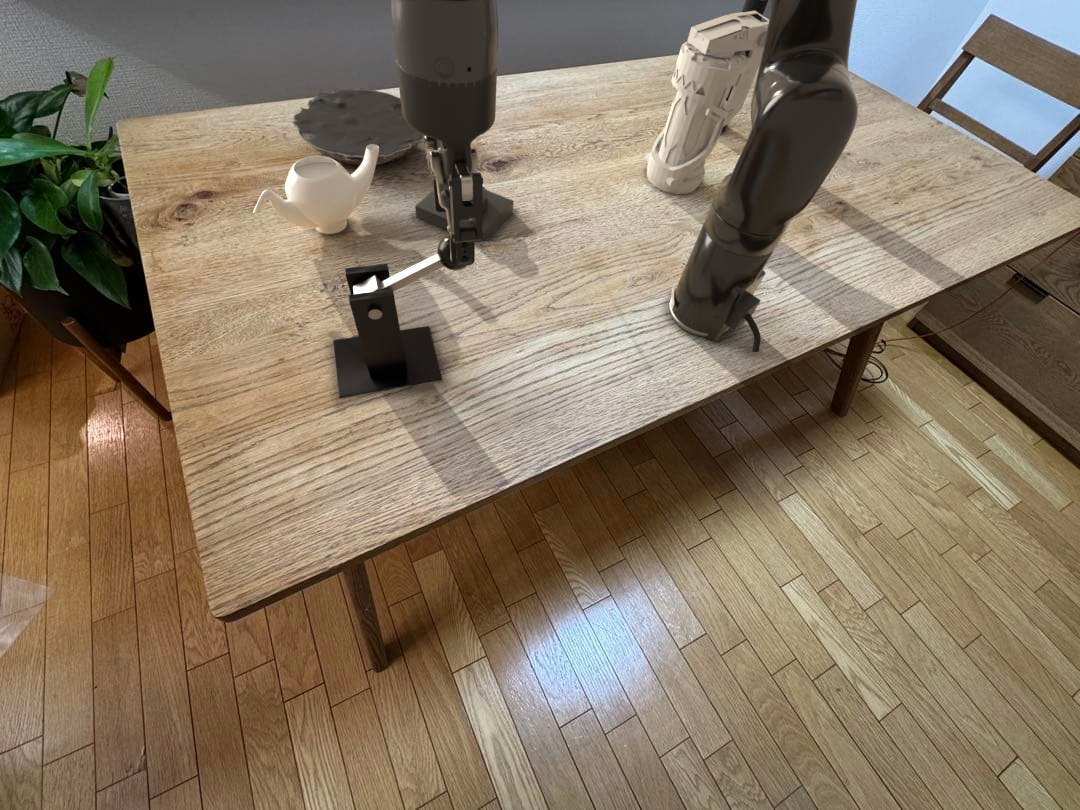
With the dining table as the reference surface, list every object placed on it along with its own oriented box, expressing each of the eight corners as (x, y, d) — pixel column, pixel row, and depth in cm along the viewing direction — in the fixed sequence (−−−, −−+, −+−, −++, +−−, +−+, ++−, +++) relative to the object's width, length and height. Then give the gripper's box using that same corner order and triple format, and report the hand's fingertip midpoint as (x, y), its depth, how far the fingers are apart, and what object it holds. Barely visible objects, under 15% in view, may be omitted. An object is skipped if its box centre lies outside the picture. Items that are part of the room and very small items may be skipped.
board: (417, 112, 99) (414, 84, 95) (442, 177, 88) (440, 148, 84) (296, 119, 94) (287, 89, 89) (305, 190, 82) (296, 159, 78)
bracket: (429, 331, 68) (419, 247, 57) (442, 385, 64) (435, 304, 52) (334, 346, 65) (304, 259, 54) (340, 403, 61) (309, 321, 49)
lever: (473, 245, 56) (458, 221, 52) (481, 268, 54) (466, 244, 51) (368, 298, 57) (348, 278, 54) (372, 322, 55) (351, 301, 52)
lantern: (664, 199, 91) (718, 37, 71) (634, 167, 96) (677, 7, 76) (721, 187, 95) (789, 31, 75) (690, 157, 100) (745, 3, 80)
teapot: (252, 233, 75) (226, 174, 68) (369, 187, 85) (358, 130, 77) (286, 268, 72) (264, 210, 64) (404, 216, 81) (397, 160, 74)
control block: (512, 212, 85) (514, 190, 81) (482, 245, 79) (482, 223, 76) (450, 187, 87) (449, 165, 83) (416, 218, 81) (413, 195, 78)
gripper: (520, 101, 36) (507, 279, 49) (475, 15, 43) (474, 190, 56) (411, 104, 34) (428, 288, 47) (383, 15, 41) (405, 196, 54)
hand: (453, 235), depth 52 cm, fingers open, 8 cm apart
